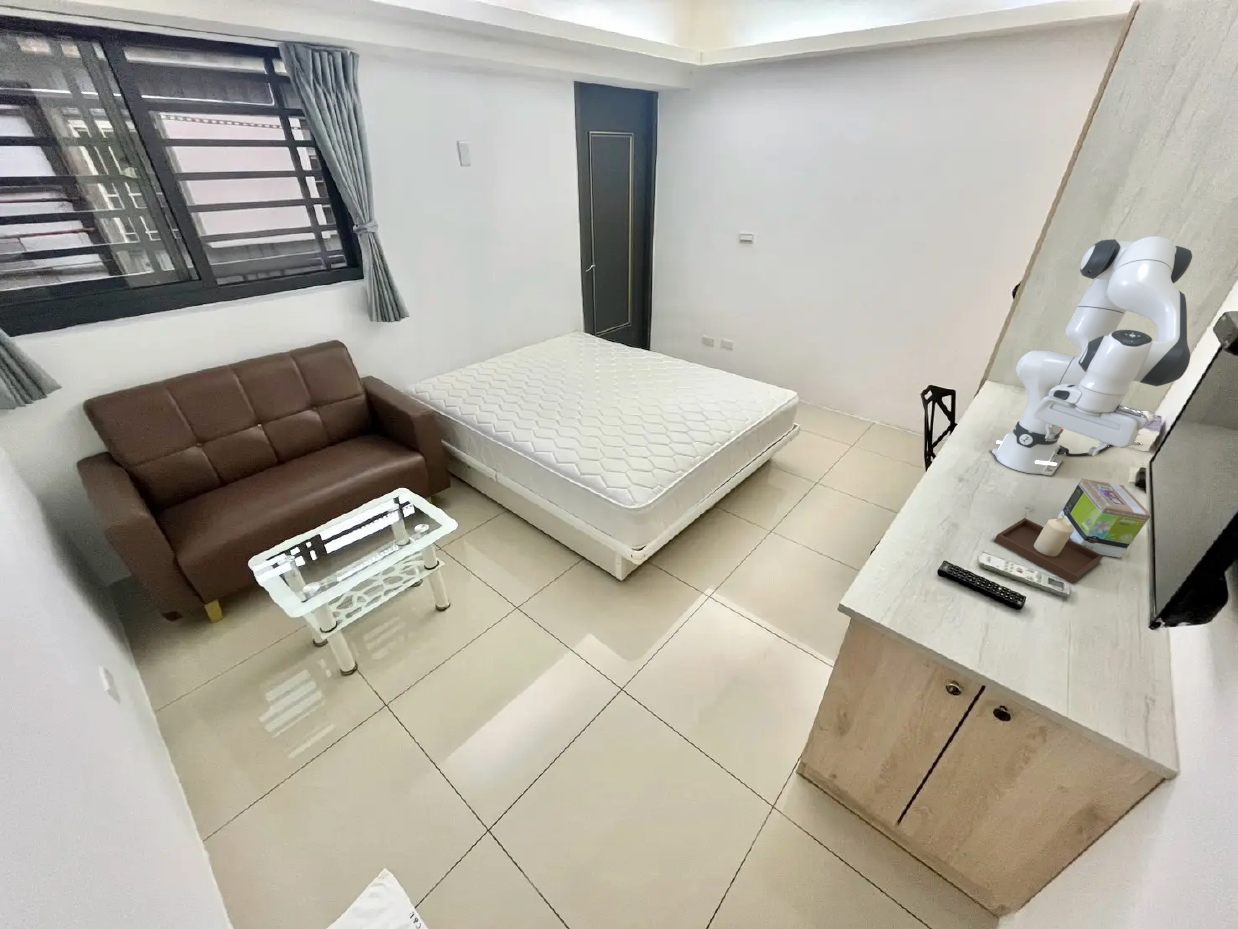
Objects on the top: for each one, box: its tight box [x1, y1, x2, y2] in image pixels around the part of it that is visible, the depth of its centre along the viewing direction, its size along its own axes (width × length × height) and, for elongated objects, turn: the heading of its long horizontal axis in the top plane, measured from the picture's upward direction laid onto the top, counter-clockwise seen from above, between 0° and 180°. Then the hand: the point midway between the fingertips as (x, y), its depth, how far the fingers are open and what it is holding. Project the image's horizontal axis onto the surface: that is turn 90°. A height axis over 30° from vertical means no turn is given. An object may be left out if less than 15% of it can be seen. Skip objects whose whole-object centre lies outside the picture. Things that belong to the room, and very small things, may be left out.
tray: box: [993, 517, 1104, 584], centre depth 131 cm, size 15×19×3 cm
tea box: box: [1057, 478, 1152, 559], centre depth 132 cm, size 15×10×15 cm, turn 160°
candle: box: [1034, 517, 1074, 556], centre depth 128 cm, size 6×6×10 cm
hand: (1069, 446), depth 126 cm, fingers open, 8 cm apart
